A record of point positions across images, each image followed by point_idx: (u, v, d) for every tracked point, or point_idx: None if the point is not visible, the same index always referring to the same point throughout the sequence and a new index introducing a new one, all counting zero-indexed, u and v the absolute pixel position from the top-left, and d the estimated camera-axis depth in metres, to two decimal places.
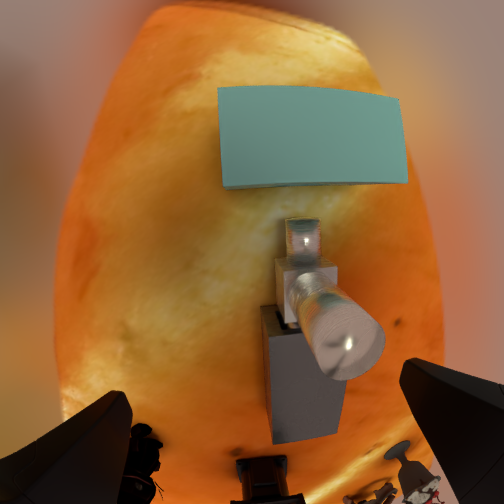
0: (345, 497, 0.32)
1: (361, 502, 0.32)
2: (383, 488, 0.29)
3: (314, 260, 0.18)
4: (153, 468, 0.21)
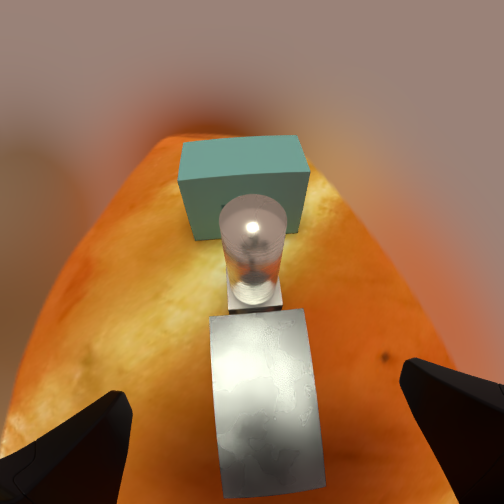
0: None
1: None
2: None
3: None
4: None
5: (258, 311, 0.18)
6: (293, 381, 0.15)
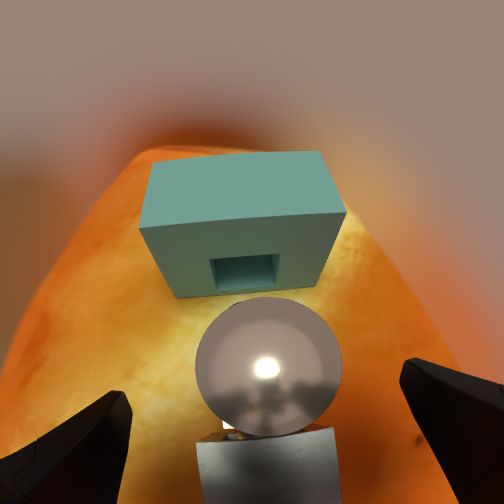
0: None
1: None
2: None
3: None
4: None
5: None
6: None
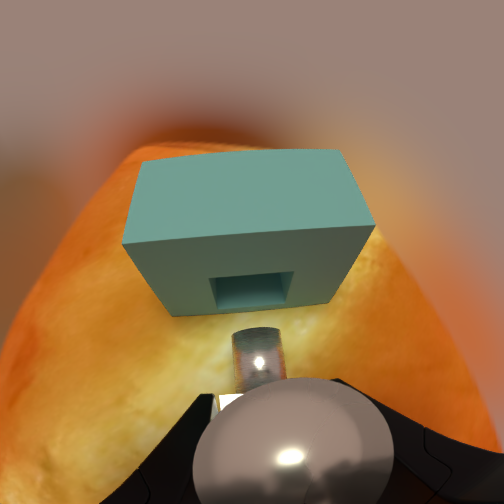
0: None
1: None
2: None
3: None
4: None
5: None
6: None
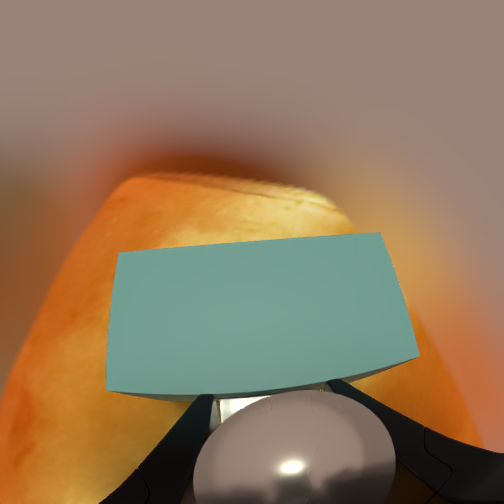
0: None
1: None
2: None
3: None
4: None
5: None
6: None
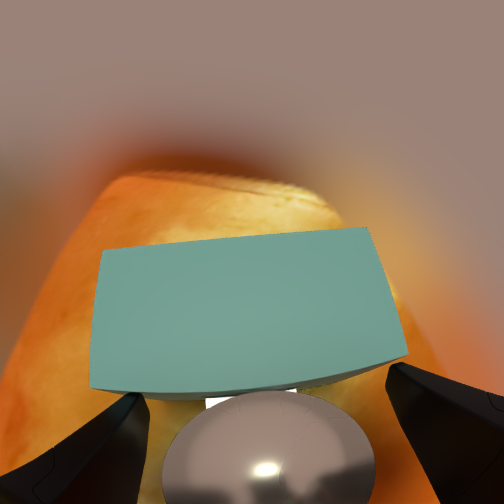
0: None
1: None
2: None
3: None
4: None
5: None
6: None
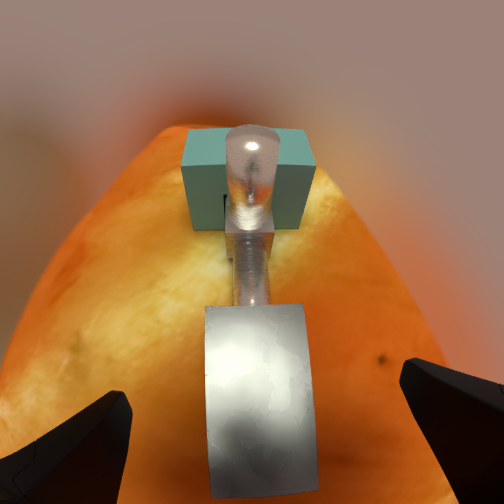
0: None
1: None
2: None
3: None
4: None
5: (252, 239, 0.21)
6: (289, 378, 0.14)
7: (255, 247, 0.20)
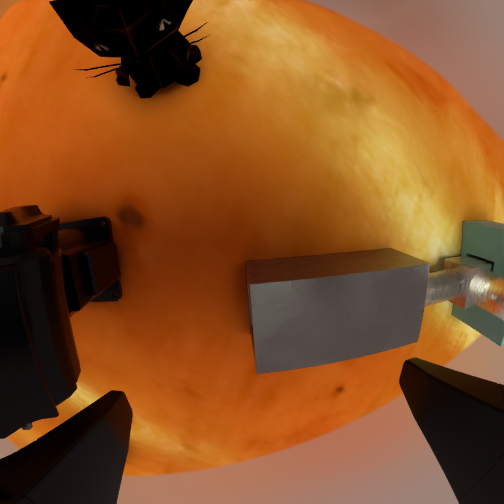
0: None
1: None
2: None
3: None
4: (139, 69, 0.12)
5: None
6: (367, 340, 0.16)
7: (456, 293, 0.17)
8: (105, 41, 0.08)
